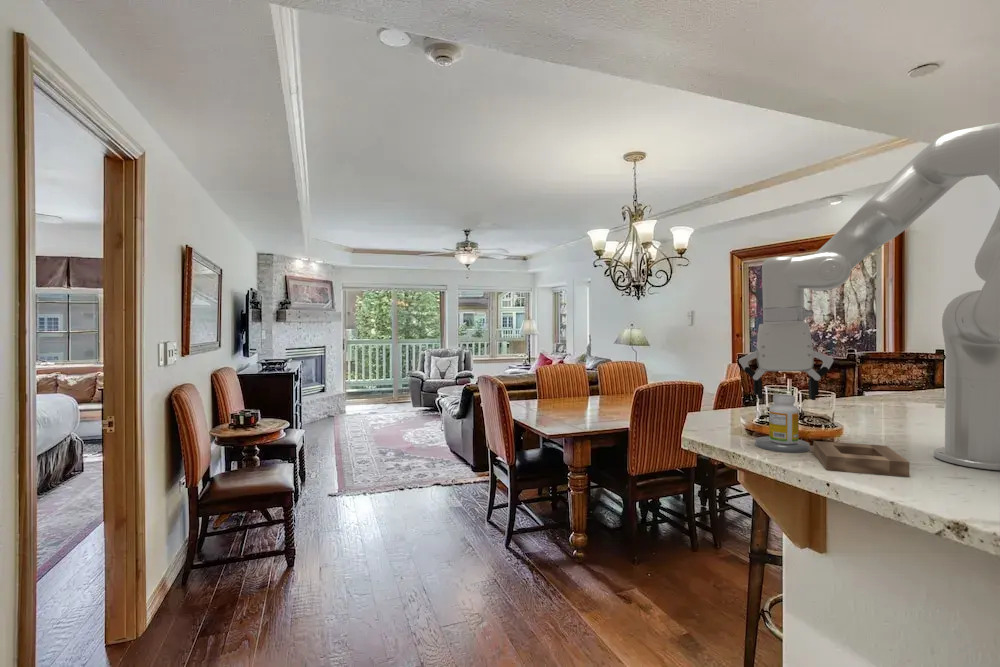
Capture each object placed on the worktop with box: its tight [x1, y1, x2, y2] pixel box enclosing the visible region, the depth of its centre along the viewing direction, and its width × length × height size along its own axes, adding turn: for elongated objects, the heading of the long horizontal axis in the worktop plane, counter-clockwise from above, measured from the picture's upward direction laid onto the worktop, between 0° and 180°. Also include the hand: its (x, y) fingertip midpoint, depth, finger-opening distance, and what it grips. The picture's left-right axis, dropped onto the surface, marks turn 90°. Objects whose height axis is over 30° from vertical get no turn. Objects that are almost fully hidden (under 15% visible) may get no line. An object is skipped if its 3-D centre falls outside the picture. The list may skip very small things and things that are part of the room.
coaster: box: [754, 435, 811, 454], centre depth 108 cm, size 10×10×1 cm
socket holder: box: [812, 440, 911, 478], centre depth 95 cm, size 12×12×2 cm
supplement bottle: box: [768, 394, 800, 444], centre depth 108 cm, size 5×5×10 cm
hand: (785, 398), depth 107 cm, fingers open, 9 cm apart
